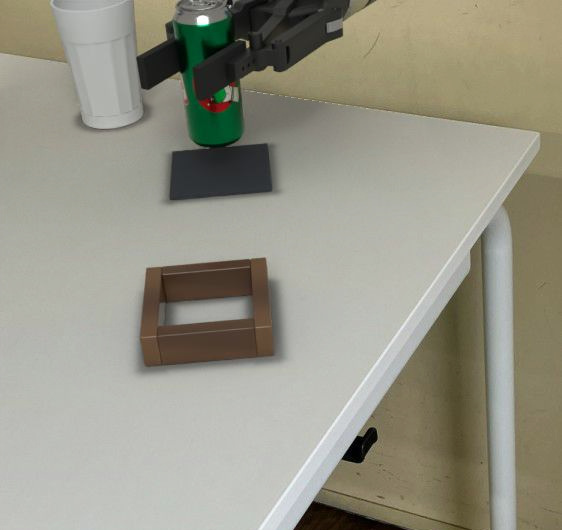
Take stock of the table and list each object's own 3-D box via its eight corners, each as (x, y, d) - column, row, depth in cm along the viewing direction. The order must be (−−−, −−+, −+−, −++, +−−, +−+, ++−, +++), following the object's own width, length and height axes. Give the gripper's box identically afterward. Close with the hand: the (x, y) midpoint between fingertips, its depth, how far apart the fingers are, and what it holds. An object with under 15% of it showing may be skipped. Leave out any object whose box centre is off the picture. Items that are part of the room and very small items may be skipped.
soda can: (203, 123, 93) (186, -9, 85) (254, 128, 91) (241, -7, 84) (180, 147, 89) (159, 11, 82) (232, 153, 87) (216, 14, 80)
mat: (173, 155, 96) (172, 151, 95) (267, 146, 96) (267, 142, 95) (170, 200, 89) (169, 196, 88) (272, 191, 89) (271, 187, 88)
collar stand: (151, 295, 77) (146, 267, 75) (268, 284, 77) (266, 256, 75) (145, 367, 70) (139, 337, 68) (274, 355, 70) (271, 326, 68)
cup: (119, 137, 99) (97, 15, 92) (58, 124, 103) (32, 5, 96) (167, 106, 105) (149, -11, 97) (107, 95, 108) (86, -20, 101)
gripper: (401, 42, 95) (265, 141, 80) (243, 18, 103) (94, 104, 89) (401, -41, 90) (257, 48, 76) (236, -58, 99) (77, 19, 84)
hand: (169, 78), depth 82 cm, fingers closed on soda can, 5 cm apart
